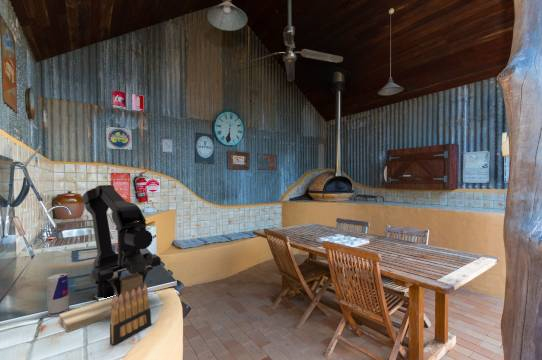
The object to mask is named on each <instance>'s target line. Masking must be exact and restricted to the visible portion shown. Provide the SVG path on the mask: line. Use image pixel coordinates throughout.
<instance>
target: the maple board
mask: <svg viewBox="0 0 542 360" xmlns="http://www.w3.org/2000/svg"><path fill="white" fill-rule="evenodd" d="M113 297H115V299H116V303H117V311H118V296H117V295H116V296H113ZM113 297H110V298H107V299H104V300H101V301H98V300H97V301H95V302H92V303H90V304H86V305H83V306H81V307H77V308H73V309H71V310H68V312H65V313H62V314H59V317H58V321H59V322H60V324H61V326H62V327H63V329H64V330H65V332H67V333H71V332H73V331H75V330H78V329H80V328H81V329H82V328H84V327H86V326H89V325H91V324H94V323H96V322H97V323H98V322H99V321H102V320H105V319H107V318H111V308H112V307H111V305H112V299H113Z"/></svg>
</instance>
